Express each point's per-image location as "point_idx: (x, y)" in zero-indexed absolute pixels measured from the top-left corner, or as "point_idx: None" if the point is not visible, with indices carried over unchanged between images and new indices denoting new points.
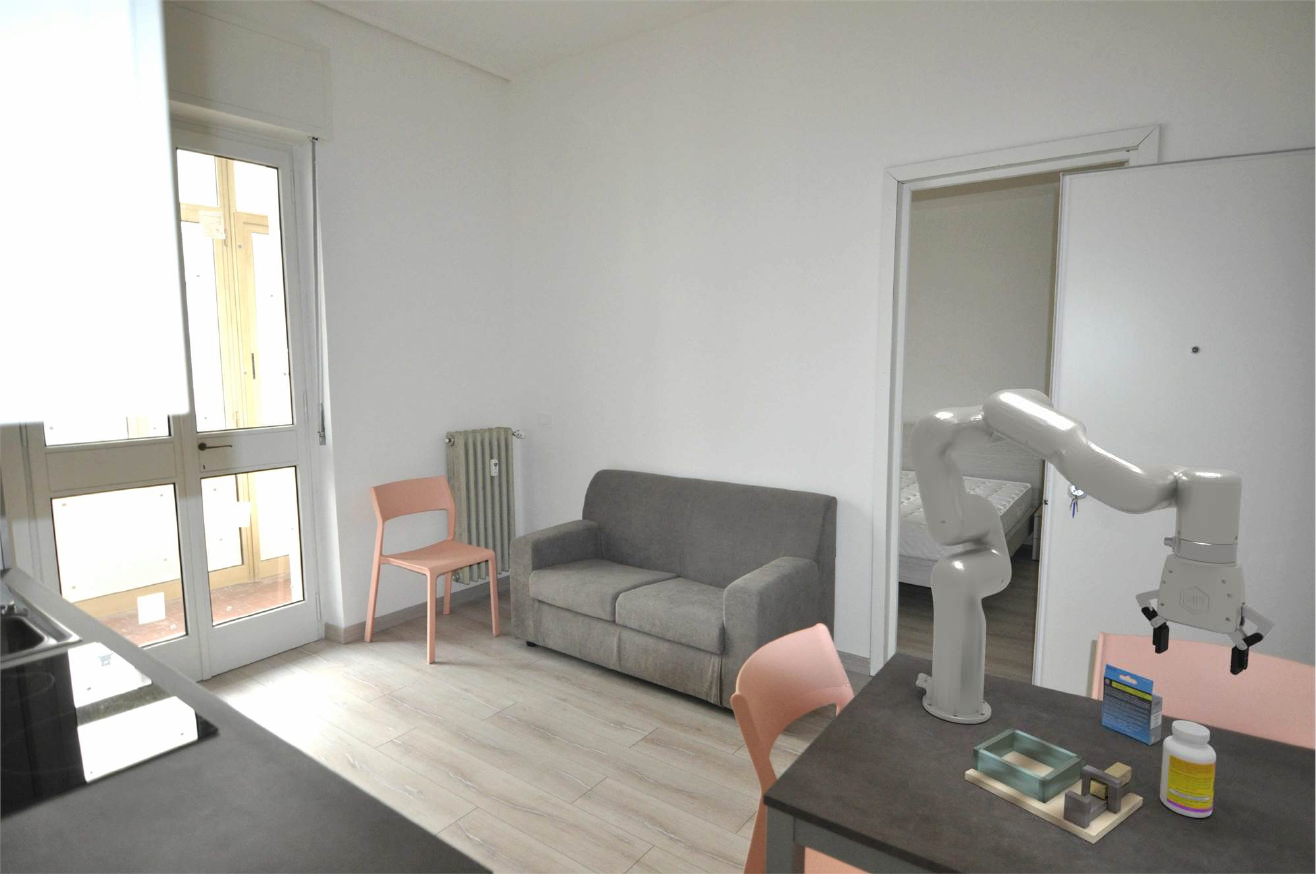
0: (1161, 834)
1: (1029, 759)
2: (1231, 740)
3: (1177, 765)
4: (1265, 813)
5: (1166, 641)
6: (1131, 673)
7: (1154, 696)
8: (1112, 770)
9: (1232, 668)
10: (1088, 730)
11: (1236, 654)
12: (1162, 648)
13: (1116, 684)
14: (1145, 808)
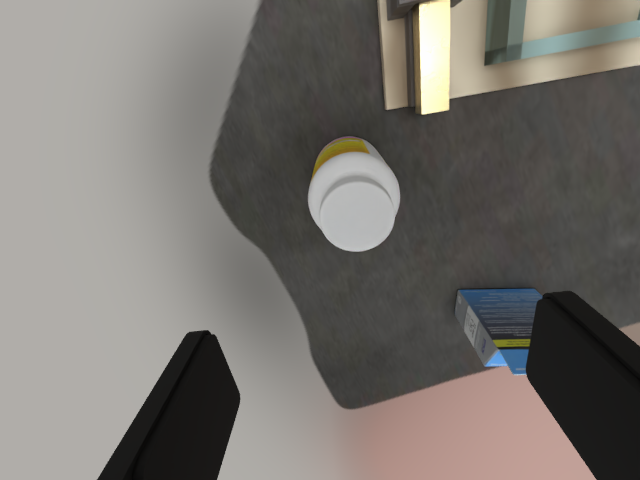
0: (324, 48)
1: (593, 22)
2: (397, 378)
3: (351, 149)
4: (289, 250)
5: (564, 402)
6: None
7: (493, 350)
8: (440, 60)
9: (190, 350)
10: (543, 255)
11: (127, 436)
12: (551, 336)
13: None
14: (377, 104)
